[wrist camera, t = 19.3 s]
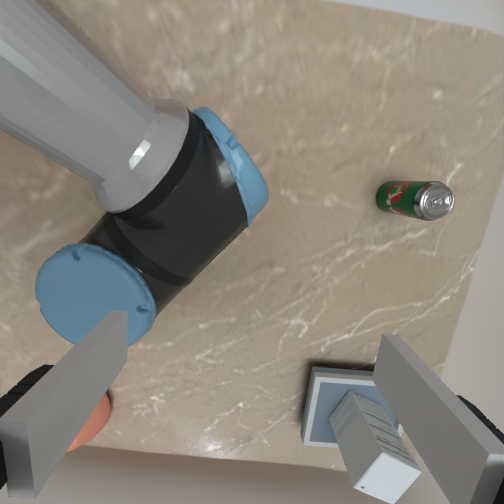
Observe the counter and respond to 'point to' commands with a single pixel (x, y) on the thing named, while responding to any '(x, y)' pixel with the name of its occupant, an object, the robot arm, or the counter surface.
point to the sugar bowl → (93, 423)
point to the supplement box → (372, 448)
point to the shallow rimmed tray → (335, 401)
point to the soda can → (416, 199)
